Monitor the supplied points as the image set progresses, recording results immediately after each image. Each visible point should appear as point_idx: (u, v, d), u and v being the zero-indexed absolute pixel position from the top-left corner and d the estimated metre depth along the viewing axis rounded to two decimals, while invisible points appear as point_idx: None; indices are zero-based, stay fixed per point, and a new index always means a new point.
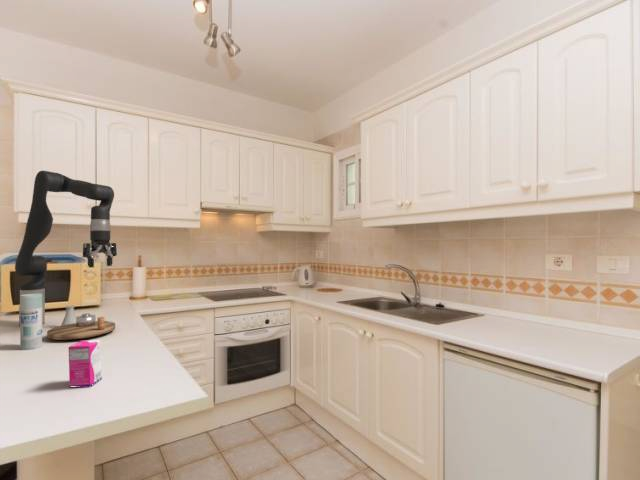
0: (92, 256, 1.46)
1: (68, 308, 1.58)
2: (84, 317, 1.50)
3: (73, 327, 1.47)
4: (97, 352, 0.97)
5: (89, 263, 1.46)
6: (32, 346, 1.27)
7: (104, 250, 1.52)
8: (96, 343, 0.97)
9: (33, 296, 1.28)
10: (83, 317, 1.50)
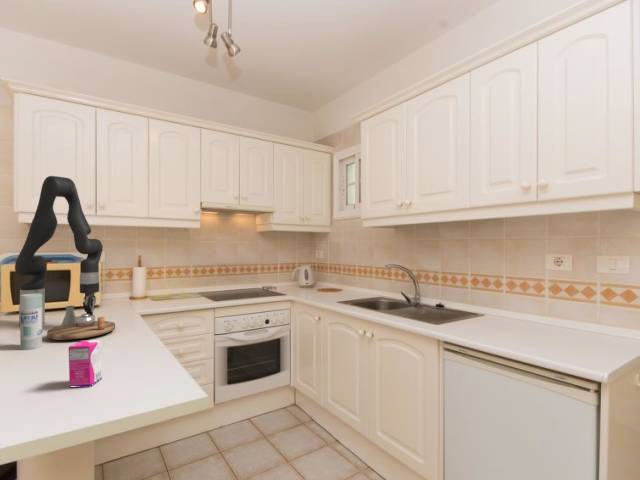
0: (92, 309, 1.57)
1: (68, 308, 1.58)
2: (84, 317, 1.49)
3: (73, 327, 1.47)
4: (97, 352, 0.97)
5: None
6: (32, 346, 1.27)
7: None
8: (96, 343, 0.97)
9: (33, 296, 1.28)
10: (83, 317, 1.49)
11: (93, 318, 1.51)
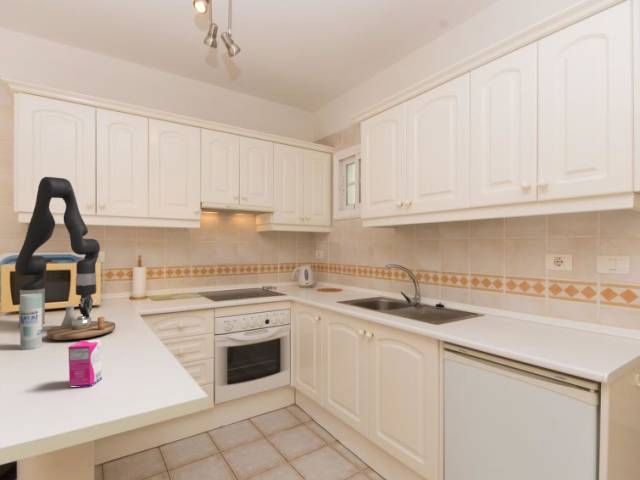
0: (88, 312, 1.52)
1: (68, 308, 1.58)
2: (79, 320, 1.44)
3: None
4: (97, 352, 0.97)
5: None
6: (32, 346, 1.27)
7: None
8: (96, 343, 0.97)
9: (33, 296, 1.28)
10: (78, 320, 1.44)
11: (89, 321, 1.47)
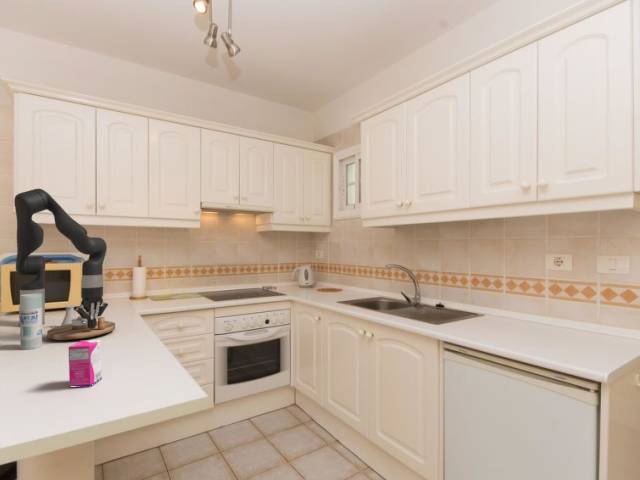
0: None
1: (68, 308, 1.58)
2: (79, 320, 1.44)
3: None
4: (97, 352, 0.97)
5: None
6: (32, 346, 1.27)
7: None
8: (96, 343, 0.97)
9: (33, 296, 1.28)
10: (78, 320, 1.44)
11: None
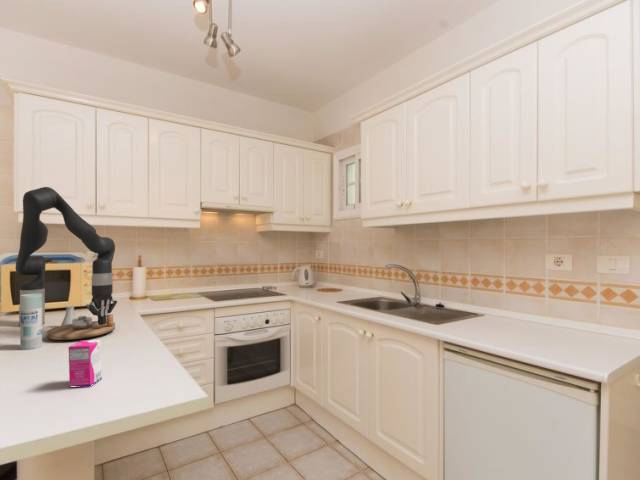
0: None
1: (68, 308, 1.58)
2: (84, 319, 1.45)
3: (71, 328, 1.45)
4: (97, 352, 0.97)
5: None
6: (32, 346, 1.27)
7: None
8: (96, 343, 0.97)
9: (33, 296, 1.28)
10: (82, 319, 1.45)
11: (91, 320, 1.48)
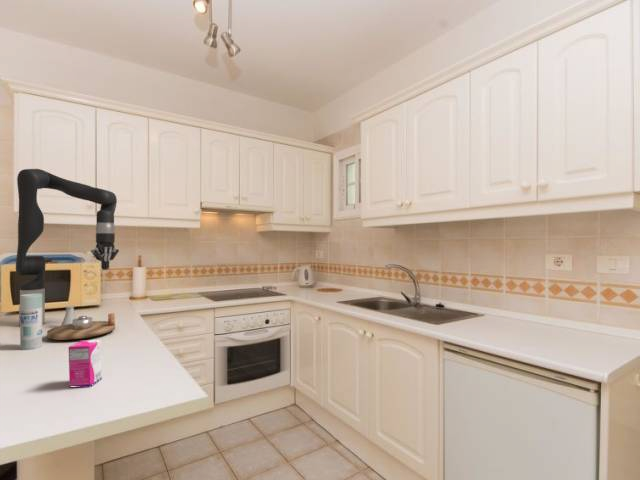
0: None
1: (68, 308, 1.58)
2: (85, 319, 1.46)
3: (71, 329, 1.45)
4: (97, 352, 0.97)
5: None
6: (32, 346, 1.27)
7: None
8: (96, 343, 0.97)
9: (33, 296, 1.28)
10: (84, 319, 1.45)
11: None
